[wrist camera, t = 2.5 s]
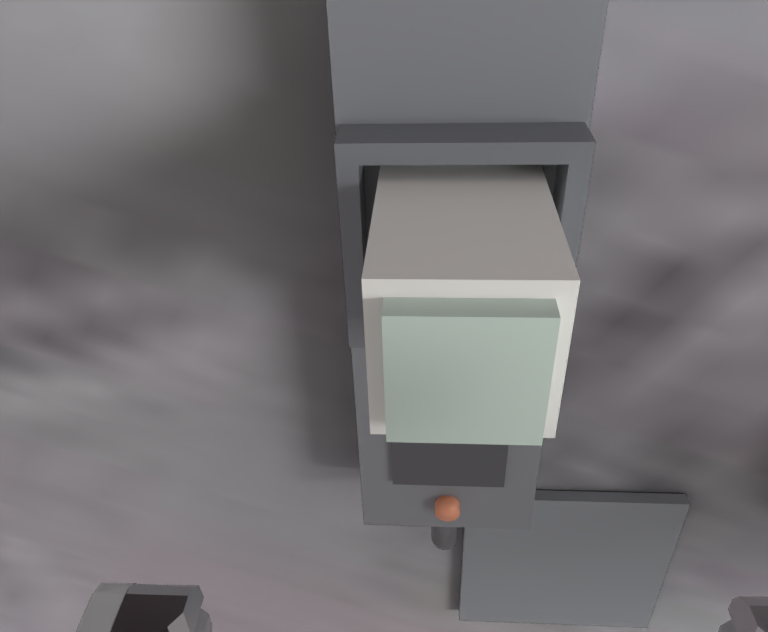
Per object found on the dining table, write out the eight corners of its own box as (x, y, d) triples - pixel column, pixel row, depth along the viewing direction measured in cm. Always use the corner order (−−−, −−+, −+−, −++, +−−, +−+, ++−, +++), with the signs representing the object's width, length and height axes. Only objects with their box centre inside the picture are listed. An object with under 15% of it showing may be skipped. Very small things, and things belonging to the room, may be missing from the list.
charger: (539, 160, 19) (587, 299, 13) (525, 294, 22) (559, 459, 16) (380, 161, 19) (358, 297, 13) (385, 293, 22) (368, 455, 16)
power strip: (589, -44, 19) (627, -17, 15) (515, 525, 33) (526, 611, 29) (338, -38, 19) (316, -11, 15) (372, 521, 33) (364, 605, 29)
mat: (686, 493, 31) (690, 504, 30) (644, 617, 36) (647, 627, 36) (466, 488, 31) (466, 498, 31) (458, 610, 37) (459, 620, 37)
